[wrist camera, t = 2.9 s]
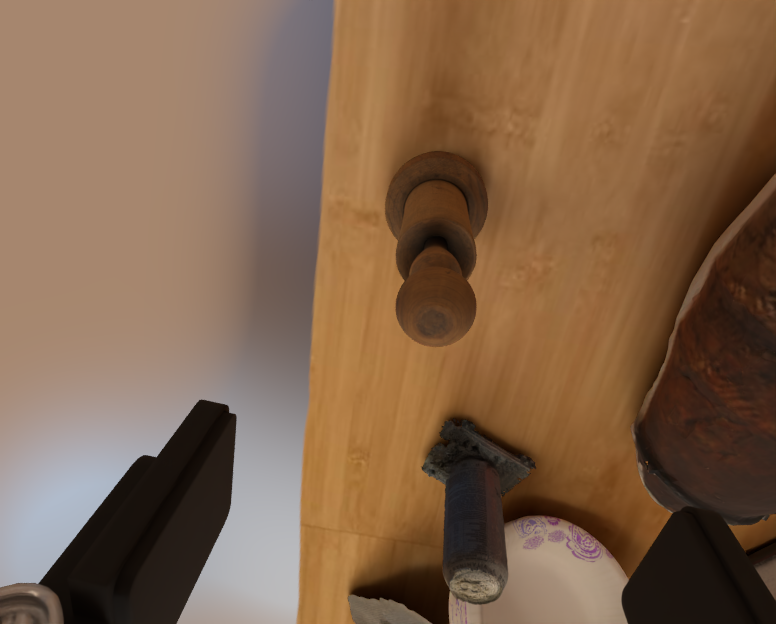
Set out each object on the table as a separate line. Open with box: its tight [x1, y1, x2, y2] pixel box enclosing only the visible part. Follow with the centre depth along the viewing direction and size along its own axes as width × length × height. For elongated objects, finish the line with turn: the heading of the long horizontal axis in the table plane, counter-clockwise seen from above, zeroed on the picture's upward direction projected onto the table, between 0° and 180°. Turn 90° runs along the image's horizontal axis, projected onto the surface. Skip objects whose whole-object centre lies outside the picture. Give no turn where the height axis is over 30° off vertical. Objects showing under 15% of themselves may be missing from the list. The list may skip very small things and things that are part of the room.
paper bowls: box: [449, 515, 629, 624], centre depth 41 cm, size 15×15×8 cm
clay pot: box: [631, 173, 776, 526], centre depth 30 cm, size 15×15×25 cm
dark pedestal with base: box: [422, 418, 536, 605], centre depth 37 cm, size 9×8×12 cm
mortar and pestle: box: [385, 151, 488, 347], centre depth 25 cm, size 7×6×18 cm
